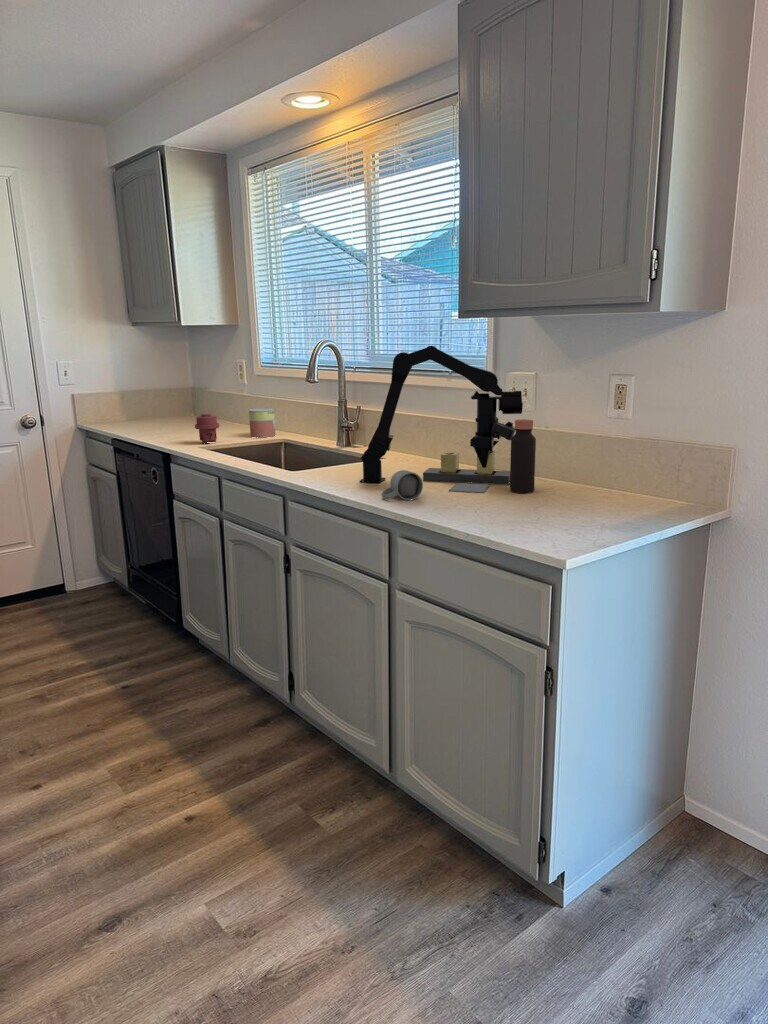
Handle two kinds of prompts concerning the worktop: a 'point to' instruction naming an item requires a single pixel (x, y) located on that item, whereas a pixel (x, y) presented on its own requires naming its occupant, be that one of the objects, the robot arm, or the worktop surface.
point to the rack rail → (466, 476)
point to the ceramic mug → (404, 486)
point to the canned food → (262, 422)
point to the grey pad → (469, 487)
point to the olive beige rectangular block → (490, 465)
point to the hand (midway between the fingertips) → (485, 466)
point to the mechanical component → (207, 427)
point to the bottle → (522, 457)
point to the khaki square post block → (450, 462)
